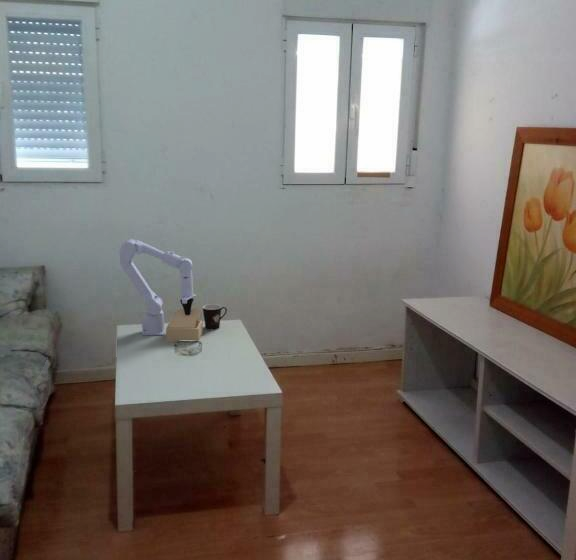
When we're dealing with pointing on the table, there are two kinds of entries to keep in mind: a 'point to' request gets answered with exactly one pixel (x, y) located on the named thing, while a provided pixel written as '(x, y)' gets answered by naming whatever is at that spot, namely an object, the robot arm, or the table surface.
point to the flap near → (182, 322)
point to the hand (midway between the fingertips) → (187, 314)
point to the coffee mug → (212, 316)
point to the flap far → (182, 314)
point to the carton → (184, 333)
